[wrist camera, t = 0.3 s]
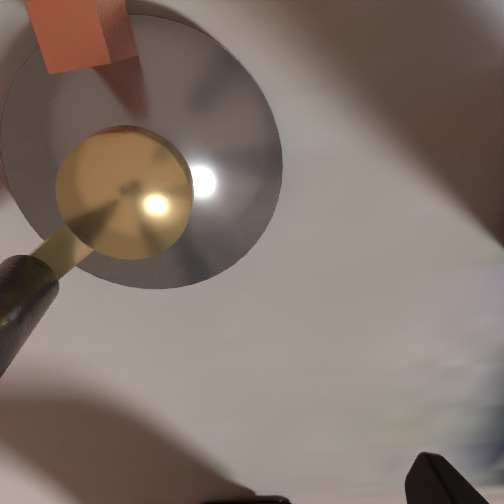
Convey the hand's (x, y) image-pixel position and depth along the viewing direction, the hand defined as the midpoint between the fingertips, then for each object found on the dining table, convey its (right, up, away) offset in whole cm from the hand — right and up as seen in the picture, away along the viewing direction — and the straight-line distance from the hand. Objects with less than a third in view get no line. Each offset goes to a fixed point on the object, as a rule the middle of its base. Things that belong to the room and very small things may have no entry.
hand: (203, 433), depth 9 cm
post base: (-4, +8, +11) cm, 14 cm away
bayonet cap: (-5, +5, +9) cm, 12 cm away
